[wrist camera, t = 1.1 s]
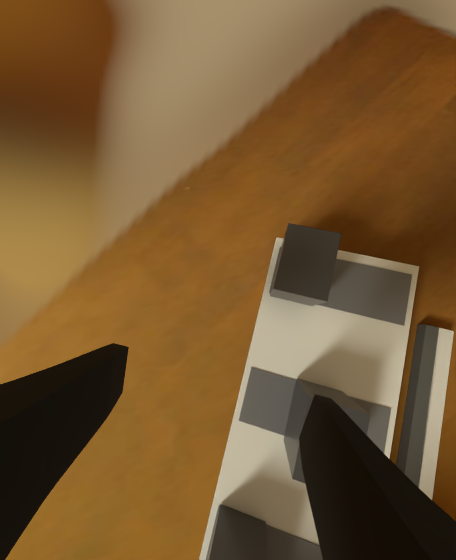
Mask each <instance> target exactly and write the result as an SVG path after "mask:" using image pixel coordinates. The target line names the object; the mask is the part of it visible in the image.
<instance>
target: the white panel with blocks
mask: <svg viewBox="0 0 456 560" xmlns="http://www.w3.org/2000/svg"><path fill="white" fill-rule="evenodd" d="M340 238H341V233H336V232H331V231H326V230H321V229H316V228H311V227H306V226H300V225H295V224H290V223H289V224H288V227H287V230H286V233H285V236H284V239H283V238H278V237H277V238H276V242H275V246H274V250H273V254H272V258H271V263H270V267H269V271H268V275H267V279H266V283H265V288H264V292H263V296H262V300H261V304H260V308H259V313H258V317H257V321H256V325H255V329H254V333H253V337H252V342H251V346H250V350H249V354H248V358H247V362H246V367H245V371H244V375H243V379H242V383H241V387H240V392H239V396H238V400H237V404H236V408H235V412H234V417H233V421H232V425H231V429H230V433H229V437H228V441H227V446H226V450H225V454H224V458H223V462H222V466H221V471H220V475H219V479H218V483H217V487H216V491H215V496H214V500H213V504H212V508H211V512H210V516H209V520H208V525H207V529H206V533H205V537H204V541H203V545H202V550H201V554H200V558H199V560H323V558H322V554H321V549H320V545H319V541H318V536H317V532H316V528H315V523H314V519H313V515H312V510H311V506H310V502H309V497H308V493H307V489H306V484H305V483H302V482H299V481H296V480H294V479H292V476H291V471H290V467H289V462H288V458H287V453H286V449H285V444H284V435H285V430H286V425H287V421H288V416H289V411H290V406H291V402H292V397H293V392H294V388H295V383H296V378H299V379H302V380H305V381H309V382H312V383H316V384H319V385H323V386H326V387H329V388H333V389H336V390H340V391H343V392H344V393H345V394H346V395H347V396H349V397H350V398H351V399H352V400H353V401H355V402H356V403H357V404H358V405H360V406H361V407H362V408H363V409H364V410H366V411H367V412H368V413H369V414H370V420H369V426H368V432H367V436H368V437H369V438H370V439H371V440H372V441H373V442H374V444H375V445H376V446H377V447H378V448H379V449H380V450H381V451H382V452H383V453H384V454H385V455H386V456H387V457H388V458H389V459H390V452H391V446H392V439H393V433H394V426H395V420H396V413H397V407H398V400H399V394H400V387H401V381H402V374H403V368H404V361H405V355H406V348H407V342H408V335H409V329H410V322H411V316H412V309H413V303H414V296H415V290H416V283H417V277H418V270H419V266H414V265H410V264H405V263H400V262H395V261H390V260H385V259H380V258H375V257H371V256H366V255H361V254H356V253H351V252H346V251H341V250H338V248H339V243H340Z"/></svg>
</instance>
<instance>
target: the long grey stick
mask: <svg viewBox="0 0 456 560" xmlns="http://www.w3.org/2000/svg"><path fill="white" fill-rule="evenodd" d="M453 334H454V331H451V330H447V329H442V328H438V327H434V326H430V325H420V324H418V326H417V332H416V339H415V346H414V353H413V359H412V366H411V373H410V379H409V386H408V393H407V399H406V406H405V413H404V419H403V426H402V433H401V439H400V446H399V453H398V459H397V467H398V468H399V469H400V470H401V471H402V472H403V473H404V474H405V475H406V476H407V477H408V478H409V479H410V480H411V481H412V482H413V483H414V484H415V485H416V486H417V487H418V488H419V489H420V490H421V491H423V492H424V493H425V494H426V495H427V496H428V497H429V498H430V499H431V500H432V497H433V489H434V481H435V473H436V466H437V458H438V450H439V442H440V435H441V427H442V419H443V411H444V404H445V396H446V388H447V380H448V373H449V365H450V357H451V349H452V342H453Z"/></svg>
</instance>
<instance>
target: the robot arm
mask: <svg viewBox="0 0 456 560" xmlns="http://www.w3.org/2000/svg"><path fill="white" fill-rule="evenodd" d="M128 348H129V347H126V346H122V345H118V344H114V343H113V344H110V345H107V346H104V347H101V348H99V349H96V350H94V351H91V352H89V353H86V354H84V355H81V356H79V357H76V358H74V359H71V360H68V361H66V362H63V363H61V364H58V365H56V366H53V367H50V368H47V369H44V370H42V371H39V372H36V373H33V374H30V375H28V376H25V377H22V378H19V379H16V380H13V381H10V382H7V383H4V384H0V560H5V559H6V557H7V556H8V554H9V553H10V551H11V550H12V548H13V546H14V545H15V543H16V542H17V540H18V539H19V537H20V536H21V534H22V533H23V531H24V530H25V528H26V527H27V525H28V524H29V522H30V521H31V519H32V518H33V516H34V515H35V513H36V512H37V510H38V509H39V507H40V506H41V504H42V503H43V501H44V500H45V498H46V497H47V496H48V494H49V493H50V492H51V490H52V489H53V487H54V486H55V485H56V483H57V482H58V481H59V479H60V478H61V477H62V476H63V474H64V473H65V472H66V470H67V469H68V468H69V467H70V465H71V464H72V463H73V461H74V460H75V459H76V458H77V456H78V455H79V454H80V452H81V451H82V450H83V449H84V447H85V446H86V445H87V443H88V442H89V441H90V439H91V438H92V437H93V436H94V434H95V433H96V432H97V430H98V429H99V428H100V426H101V425H102V424H103V422H104V421H105V420H106V418H107V417H108V415H109V414H110V412H111V411H112V409H113V407H114V406H115V404H116V402H117V401H118V399H119V397H120V396H121V394H122V391H123V384H124V377H125V370H126V362H127V355H128ZM299 445H300V455H301V463H302V470H303V475H304V480H305V484H306V489H307V493H308V497H309V502H310V506H311V510H312V515H313V519H314V523H315V528H316V532H317V536H318V541H319V545H320V549H321V554H322V558H323V560H456V521H455V520H453V519H452V518H451V517H450V516H449V515H448V514H447V513H446V512H444V511H443V510H442V509H441V508H440V507H439V506H438V505H437V504H435V503H434V502H433V501H432V500H431V499H430V498H429V497H428V496H427V495H426V494H425V493H424V492H423V491H421V490H420V489H419V488H418V487H417V486H416V485H415V484H414V483H413V482H412V481H411V480H410V479H409V478H408V477H407V476H406V475H405V474H404V473H403V472H402V471H401V470H400V469H399V468H398V467H397V466H396V465H395V464H394V463H393V462H392V461H391V460H390V459H389V458H388V457H387V456H386V455H385V454H384V453H383V452H382V451H381V450H380V449H379V448H378V447H377V446H376V445H375V444H374V442H373V441H372V440H371V439H370V438H369V437H368V436H367V435H366V434H365V433H364V432H363V431H362V430H361V429H360V428H359V427H358V425H357V424H356V423H355V422H354V421H353V420H352V419H351V418H350V417H349V416H348V415H347V414H346V413H345V412H344V411H343V409H342V408H341V407H340V406H339V405H338V404H337V403H336V402H335V401H334V400H332V399H331V398H328V397H324V396H320V395H316V394H315V395H314V397H313V400H312V403H311V406H310V409H309V411H308V414H307V417H306V420H305V422H304V425H303V428H302V431H301V434H300V436H299Z"/></svg>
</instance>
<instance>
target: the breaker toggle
mask: <svg viewBox="0 0 456 560" xmlns="http://www.w3.org/2000/svg"><path fill="white" fill-rule="evenodd" d="M315 394H316V395H320V396H324V397H328V398H331V399H332V400H334V401H335V402H336V403H337V404H338V405H339V406H340V407H341V408H342V409H343V411H344V412H345V413H346V414H347V415H348V416H349V417H350V418H351V419H352V420H353V421H354V422H355V423H356V424H357V425H358V427H359V428H360V429H361V430H362V431H363V432H364V433H365V434H366V435H367V432H368V426H369V420H370V414H369V413H368V412H367V411H366V410H364V409H363V408H362V407H361V406H360V405H358V404H357V403H356V402H355V401H353V400H352V399H351V398H350V397H349V396H347V395H346V394H345V393H344V392H343V391H340V390H336V389H333V388H329V387H326V386H323V385H319V384H316V383H312V382H309V381H305V380H302V379H299V378H296V383H295V388H294V392H293V397H292V402H291V406H290V411H289V416H288V421H287V425H286V430H285V435H284V444H285V449H286V453H287V458H288V462H289V467H290V471H291V476H292V479H294V480H296V481H299V482H302V483H305V480H304V475H303V470H302V463H301V455H300V445H299V436H300V434H301V431H302V428H303V425H304V422H305V420H306V417H307V414H308V411H309V409H310V406H311V403H312V400H313V397H314V395H315Z"/></svg>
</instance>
